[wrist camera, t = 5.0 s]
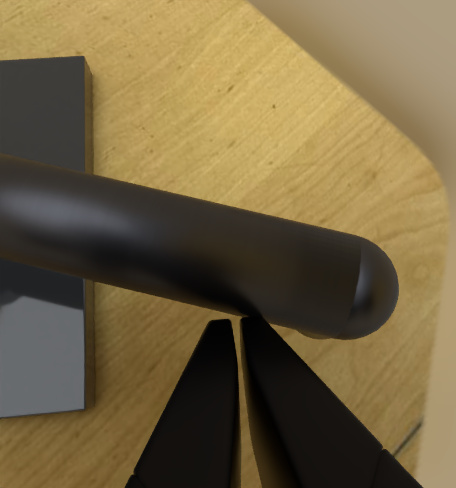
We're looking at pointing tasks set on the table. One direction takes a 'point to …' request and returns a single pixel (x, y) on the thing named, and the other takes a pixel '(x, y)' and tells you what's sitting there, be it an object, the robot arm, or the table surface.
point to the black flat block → (36, 279)
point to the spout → (194, 251)
